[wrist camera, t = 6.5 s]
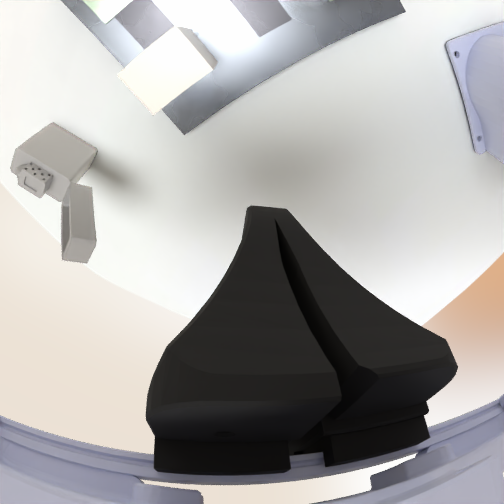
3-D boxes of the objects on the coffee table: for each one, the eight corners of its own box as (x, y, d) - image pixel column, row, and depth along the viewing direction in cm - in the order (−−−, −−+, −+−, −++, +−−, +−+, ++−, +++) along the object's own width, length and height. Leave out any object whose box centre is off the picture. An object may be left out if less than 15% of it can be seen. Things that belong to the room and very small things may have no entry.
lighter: (43, 142, 16) (-27, 206, 10) (51, 121, 15) (-23, 179, 9) (123, 190, 19) (82, 273, 13) (134, 171, 18) (93, 251, 12)
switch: (217, 61, 13) (213, 69, 10) (172, 95, 14) (153, 115, 11) (190, 28, 12) (175, 25, 8) (144, 64, 13) (116, 75, 9)
